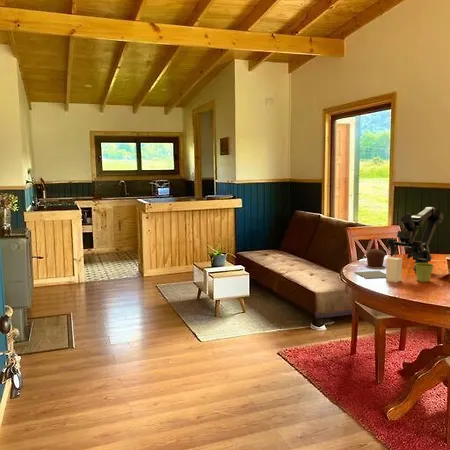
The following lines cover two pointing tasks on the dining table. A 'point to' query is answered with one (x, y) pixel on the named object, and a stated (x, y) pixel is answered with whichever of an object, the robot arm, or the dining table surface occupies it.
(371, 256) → the muffin
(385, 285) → the dining table surface
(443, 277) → the dining table surface
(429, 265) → the plant pot
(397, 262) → the tall cream pillar
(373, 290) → the dining table surface
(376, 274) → the mat
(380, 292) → the dining table surface
